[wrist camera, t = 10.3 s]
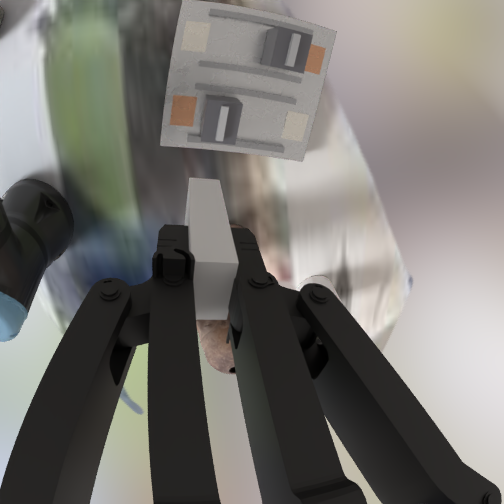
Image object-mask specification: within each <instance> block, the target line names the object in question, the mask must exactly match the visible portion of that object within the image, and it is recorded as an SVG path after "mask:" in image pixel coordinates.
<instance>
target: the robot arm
mask: <svg viewBox="0 0 504 504" xmlns="http://www.w3.org/2000/svg"><path fill="white" fill-rule="evenodd" d="M73 228H74V224H73V217H72V214H71V211H70V208H69V206H68V204H67V203H66V201H65V199H64V198H63V197H62V196H61V194H60V193H59V192H58V191H57V190H55V189H54V188H53V187H51V186H50V185H48V184H46V183H44V182H42V181H38V180H31V179H29V180H22V181H19V182H17V183H16V184H14V185H13V186H12V187H10V189H9V190H8V191H7V192H6V193H5V194H4V195H3V197H2V198H0V342H5V341H9V340H12V339H14V338H15V337H16V336H17V335H18V333H19V332H20V329H21V327H22V325H23V322H24V321H25V320H26V318H27V315H28V312H29V309H30V306H31V304H32V301H33V299H34V296H35V293H36V291H37V288H38V286H39V284H40V281H41V279H42V276H43V274H44V272H45V270H46V268H47V267H48V266H49V265H51V264H52V262H53V261H55V260H56V259H58V258H59V257H60V256H61V255H62V254H63V253H64V252H65V250H66V249H67V247H68V245H69V243H70V241H71V238H72V235H73ZM152 270H153V276H152V277H151V278H150V279H149V280H148V281H146V282H144V283H142V284H139V285H135V286H130V287H129V285H128V284H127V283H126V282H124V281H123V280H120V279H118V278H107V279H102V280H100V281H98V282H96V283H95V284H94V285H93V286H92V288H91V289H90V291H89V292H88V294H87V296H86V297H85V299H84V301H83V302H82V304H81V306H80V308H79V309H78V311H77V313H76V314H75V316H74V318H73V320H72V321H71V323H70V325H69V327H68V329H67V330H66V332H65V334H64V336H63V338H62V340H61V342H60V343H59V346H58V348H57V349H56V351H55V353H54V355H53V357H52V359H51V361H50V363H49V365H48V367H47V369H46V371H45V373H44V375H43V377H42V380H41V382H40V384H39V386H38V388H37V390H36V393H35V395H34V397H33V399H32V402H31V404H30V406H29V408H28V411H27V413H26V416H25V418H24V421H23V423H22V426H21V428H20V431H19V434H18V436H17V439H16V441H15V445H14V447H13V450H12V453H11V455H10V458H9V461H8V464H7V468H6V471H5V474H4V477H3V481H2V485H1V488H0V504H90V499H91V495H92V491H93V487H94V483H95V479H96V475H97V471H98V467H99V464H100V460H101V456H102V453H103V449H104V445H105V442H106V439H107V435H108V432H109V429H110V425H111V422H112V419H113V415H114V412H115V409H116V406H117V403H118V399H119V397H120V394H121V391H122V388H123V385H124V382H125V379H126V376H127V373H128V370H129V367H130V364H131V361H132V359H133V356H134V353H135V350H136V346H138V345H142V344H146V343H149V344H148V345H149V346H148V432H149V453H150V468H151V479H152V491H153V501H154V504H221V502H220V499H219V494H218V488H217V483H216V477H215V471H214V465H213V459H212V453H211V446H210V438H209V432H208V424H207V417H206V409H205V401H204V393H203V385H202V376H201V367H200V356H199V347H198V335H197V324H196V319H198V320H227V317H228V312H229V315H230V324H229V329H228V333H227V338H226V344H229V340H230V342H231V348H232V353H233V359H234V365H235V370H236V376H237V381H238V387H239V392H240V397H241V402H242V407H243V413H244V418H245V423H246V428H247V433H248V438H249V443H250V447H251V452H252V457H253V461H254V466H255V471H256V475H257V479H258V484H259V489H260V493H261V498H262V504H367V502H366V498H365V496H364V494H363V492H362V490H361V488H360V487H359V486H358V485H357V484H356V483H355V482H353V481H351V480H349V479H347V477H346V476H345V474H344V472H343V470H342V467H341V464H340V461H339V457H338V454H337V451H336V449H335V446H334V442H333V439H332V436H331V434H330V431H329V428H328V425H327V422H326V419H325V417H326V418H327V420H328V421H329V423H330V425H331V426H332V428H333V429H334V431H335V433H336V434H337V436H338V437H339V439H340V440H341V442H342V444H343V445H344V447H345V448H346V450H347V451H348V453H349V454H350V456H351V457H352V459H353V461H354V462H355V463H356V465H357V467H358V468H359V470H360V471H361V473H362V474H363V476H364V478H365V479H366V481H367V482H368V484H369V485H370V487H371V488H372V490H373V491H374V493H375V494H376V496H377V497H378V499H379V500H380V501H381V503H383V504H501V493H500V490H499V488H498V487H497V486H496V485H495V484H493V483H492V482H490V481H489V480H487V479H486V478H484V477H483V476H481V475H480V474H479V473H477V472H476V471H474V470H473V469H471V468H470V467H468V466H467V465H466V464H464V463H463V462H462V461H461V459H460V458H459V456H458V455H457V454H456V452H455V451H454V449H453V448H452V447H451V445H450V444H449V442H448V441H447V439H446V438H445V437H444V435H443V434H442V432H441V431H440V430H439V428H438V427H437V426H436V424H435V423H434V421H433V420H432V419H431V417H430V416H429V415H428V413H427V412H426V411H425V409H424V408H423V407H422V405H421V404H420V403H419V401H418V400H417V398H416V397H415V396H414V395H413V393H412V392H411V391H410V389H409V388H408V387H407V385H406V384H405V383H404V381H403V380H402V379H401V378H400V376H399V375H398V374H397V372H396V371H395V370H394V368H393V367H392V366H391V365H390V363H389V362H388V361H387V359H386V358H385V357H384V356H383V354H382V353H381V352H380V350H379V349H378V348H377V346H376V345H375V344H374V343H373V341H372V340H371V339H370V338H369V336H368V335H367V334H366V333H365V331H364V330H363V329H362V328H361V326H360V325H359V324H358V323H357V321H356V320H355V319H354V318H353V316H352V315H351V314H350V313H349V311H348V310H347V309H346V308H345V306H344V305H343V304H342V303H341V302H340V300H339V299H338V298H337V297H336V295H335V294H334V293H333V292H332V291H331V290H330V289H329V288H327V287H325V286H323V285H321V284H317V283H308V284H306V285H304V286H303V287H302V288H301V290H300V291H296V290H292V289H288V288H285V287H282V286H280V285H279V284H278V282H277V280H276V278H275V277H274V276H273V275H271V274H270V273H268V272H267V271H266V268H265V265H264V262H263V259H262V256H261V253H260V251H259V247H258V245H257V241H256V238H255V236H254V235H253V233H252V232H251V231H250V230H249V229H247V228H232V227H230V224H229V220H228V215H227V211H226V207H225V202H224V198H223V194H222V189H221V185H220V180H215V179H203V178H189V186H188V195H187V205H186V215H185V226H184V225H166V224H165V225H164V226H163V227H162V228H161V229H160V230H159V235H158V244H157V251H156V252H155V253H154V255H153V258H152ZM319 339H320V340H319ZM324 415H325V416H324Z"/></svg>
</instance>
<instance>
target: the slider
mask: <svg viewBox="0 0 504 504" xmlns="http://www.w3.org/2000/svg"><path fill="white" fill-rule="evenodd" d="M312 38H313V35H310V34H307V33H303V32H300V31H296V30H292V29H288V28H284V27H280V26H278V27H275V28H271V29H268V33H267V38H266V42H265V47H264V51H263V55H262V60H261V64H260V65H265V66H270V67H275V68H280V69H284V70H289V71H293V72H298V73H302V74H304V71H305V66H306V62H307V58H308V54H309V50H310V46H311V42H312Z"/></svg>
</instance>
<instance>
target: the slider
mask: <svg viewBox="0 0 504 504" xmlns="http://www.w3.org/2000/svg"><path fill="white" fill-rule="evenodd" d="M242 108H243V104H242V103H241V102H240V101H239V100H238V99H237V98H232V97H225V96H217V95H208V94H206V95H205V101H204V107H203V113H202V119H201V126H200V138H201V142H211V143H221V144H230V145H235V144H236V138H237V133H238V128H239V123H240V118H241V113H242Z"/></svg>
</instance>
